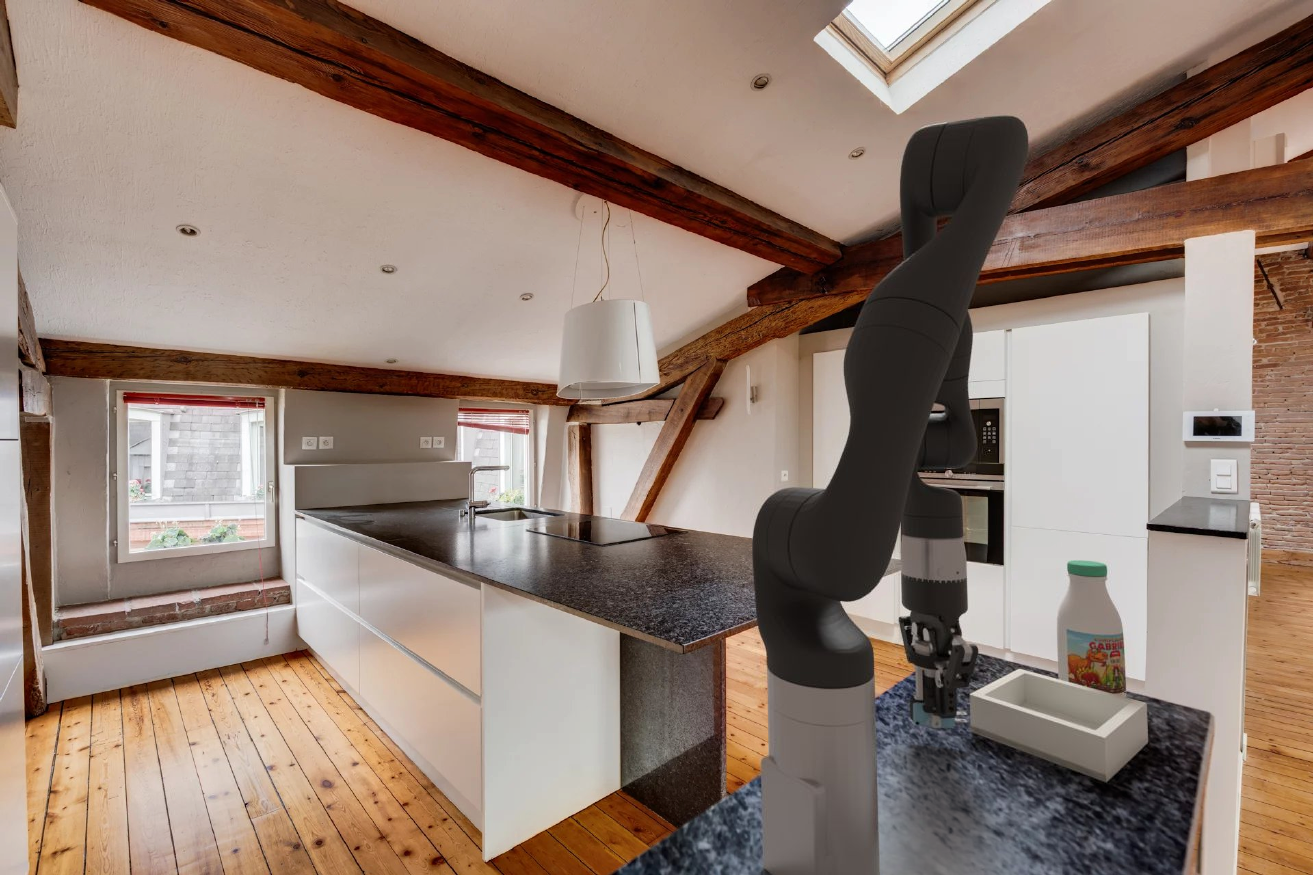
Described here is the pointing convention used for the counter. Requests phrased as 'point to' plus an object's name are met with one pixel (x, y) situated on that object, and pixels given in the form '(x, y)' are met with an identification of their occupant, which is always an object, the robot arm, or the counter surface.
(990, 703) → the bin
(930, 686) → the push button
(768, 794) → the robot arm
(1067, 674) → the milk bottle
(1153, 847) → the counter surface
